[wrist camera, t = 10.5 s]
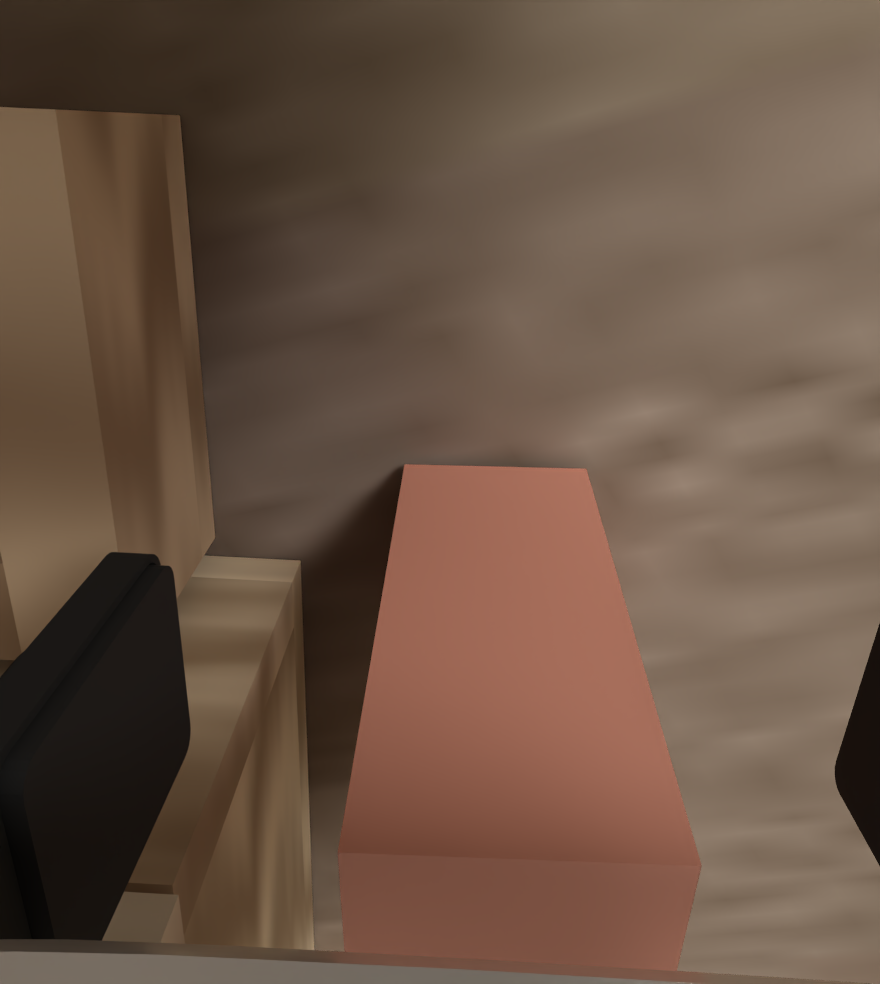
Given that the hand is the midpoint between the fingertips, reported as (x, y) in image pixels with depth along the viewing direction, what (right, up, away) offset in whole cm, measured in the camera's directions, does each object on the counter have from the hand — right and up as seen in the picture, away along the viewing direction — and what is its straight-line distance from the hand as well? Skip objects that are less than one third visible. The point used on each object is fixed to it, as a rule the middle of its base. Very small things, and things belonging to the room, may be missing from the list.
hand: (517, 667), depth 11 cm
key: (0, +1, +8) cm, 8 cm away
